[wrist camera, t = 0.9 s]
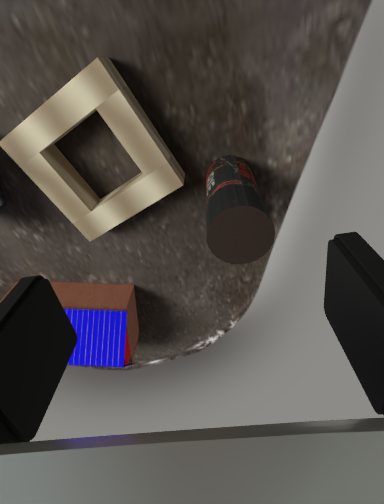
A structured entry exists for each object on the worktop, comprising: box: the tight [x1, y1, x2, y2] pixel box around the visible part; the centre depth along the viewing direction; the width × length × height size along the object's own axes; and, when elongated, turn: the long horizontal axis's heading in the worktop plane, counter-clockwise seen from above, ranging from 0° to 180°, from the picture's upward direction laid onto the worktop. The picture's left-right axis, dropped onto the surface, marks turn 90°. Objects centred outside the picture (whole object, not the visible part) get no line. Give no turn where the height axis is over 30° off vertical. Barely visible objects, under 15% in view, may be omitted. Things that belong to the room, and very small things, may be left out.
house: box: [0, 281, 139, 367], centre depth 48 cm, size 12×20×12 cm, turn 89°
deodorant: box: [206, 156, 275, 264], centre depth 33 cm, size 6×6×15 cm
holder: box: [0, 57, 185, 241], centre depth 36 cm, size 15×15×4 cm
